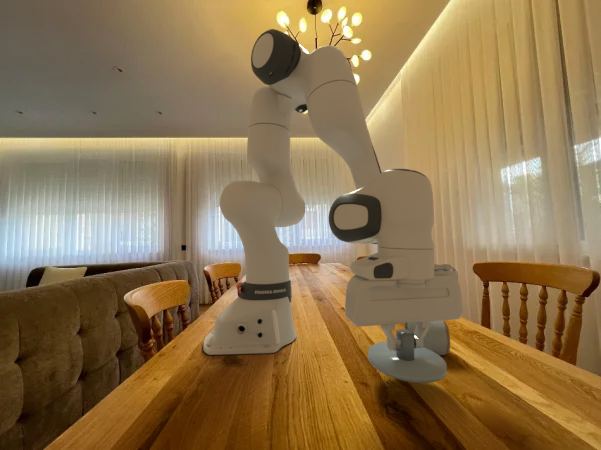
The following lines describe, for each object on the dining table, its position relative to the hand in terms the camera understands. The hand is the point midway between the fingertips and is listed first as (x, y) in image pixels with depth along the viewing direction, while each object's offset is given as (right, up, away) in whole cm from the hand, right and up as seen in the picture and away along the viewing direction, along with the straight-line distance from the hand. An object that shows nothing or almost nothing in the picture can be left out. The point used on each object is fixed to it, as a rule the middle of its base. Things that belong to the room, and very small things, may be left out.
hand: (405, 348), depth 42 cm
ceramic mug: (+10, -7, +13) cm, 18 cm away
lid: (0, -2, 0) cm, 2 cm away
